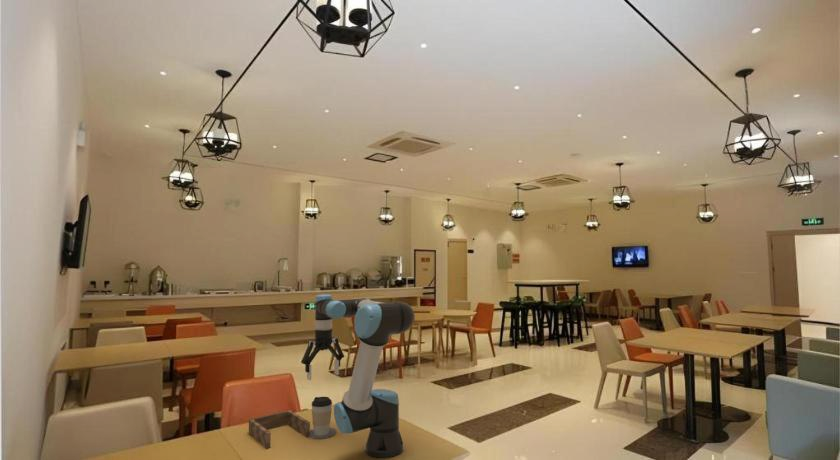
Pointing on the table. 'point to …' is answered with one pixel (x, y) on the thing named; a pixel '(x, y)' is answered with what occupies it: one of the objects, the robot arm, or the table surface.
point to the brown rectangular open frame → (276, 425)
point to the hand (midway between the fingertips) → (323, 377)
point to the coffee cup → (321, 415)
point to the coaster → (330, 434)
